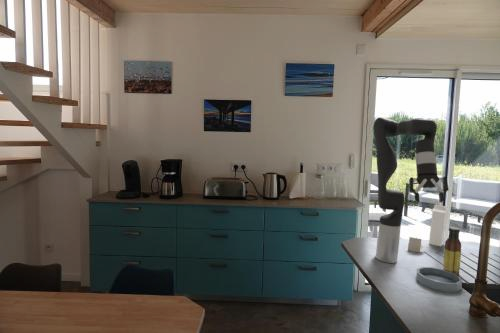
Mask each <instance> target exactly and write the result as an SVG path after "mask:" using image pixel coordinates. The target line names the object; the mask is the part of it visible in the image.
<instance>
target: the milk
mask: <svg viewBox="0 0 500 333" xmlns="http://www.w3.org/2000/svg"><path fill="white" fill-rule="evenodd" d="M431 212H432V213H431V220H430V222H431V223H430V228H429V229H430V232H429V238H428V239H429V240H428V244H429V245H433V246H437V247H442V246H443V245H445V235H446V234H445V232H446V225H447V218H448V217H447V216H448V210H447V206H446V205H440V204H434V205H433V209H432V211H431Z"/></svg>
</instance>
